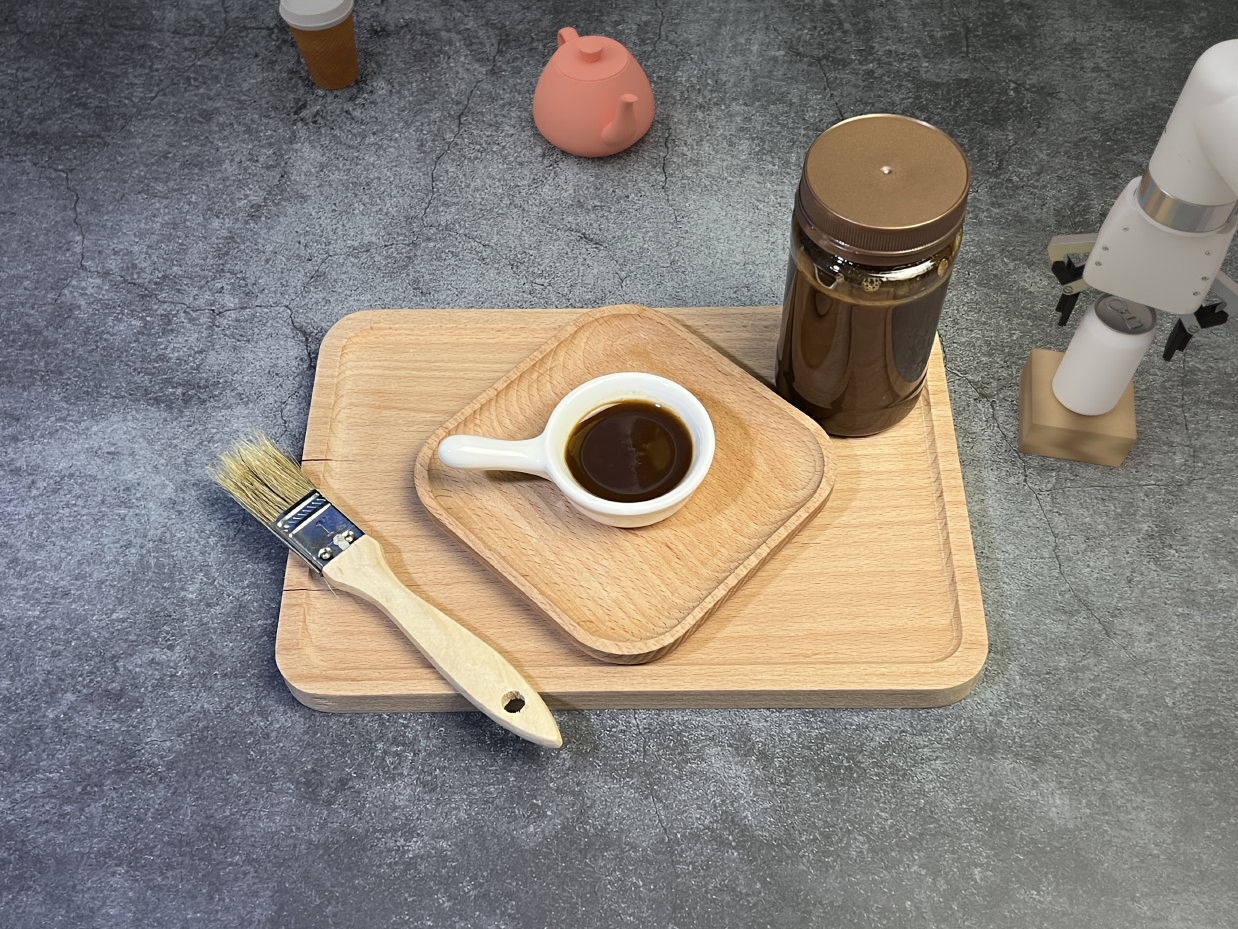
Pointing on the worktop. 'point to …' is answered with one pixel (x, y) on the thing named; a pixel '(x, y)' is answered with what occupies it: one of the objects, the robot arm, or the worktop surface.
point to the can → (1104, 354)
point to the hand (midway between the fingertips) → (1115, 333)
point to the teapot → (592, 97)
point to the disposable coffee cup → (324, 39)
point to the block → (1070, 419)
